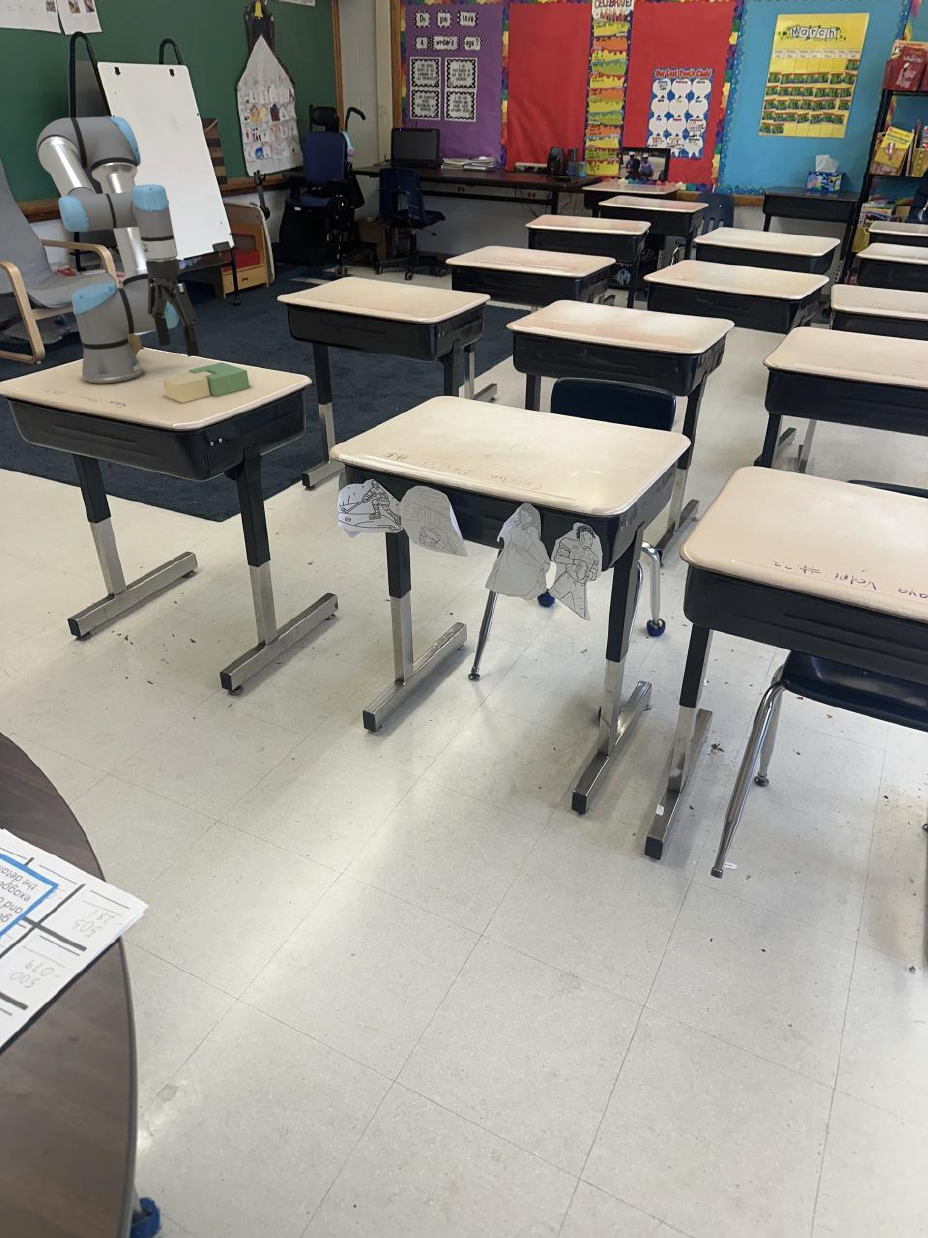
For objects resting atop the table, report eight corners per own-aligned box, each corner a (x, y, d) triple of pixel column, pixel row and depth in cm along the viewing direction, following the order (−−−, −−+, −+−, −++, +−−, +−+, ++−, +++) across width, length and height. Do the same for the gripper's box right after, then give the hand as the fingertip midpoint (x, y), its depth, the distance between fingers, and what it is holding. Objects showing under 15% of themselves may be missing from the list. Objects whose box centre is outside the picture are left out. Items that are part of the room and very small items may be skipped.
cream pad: (165, 396, 218) (162, 378, 216) (204, 386, 225) (200, 369, 222) (182, 402, 213) (178, 384, 211) (220, 392, 220) (217, 375, 218)
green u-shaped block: (191, 387, 225) (188, 369, 222) (224, 378, 231) (221, 361, 228) (216, 396, 217) (213, 378, 215) (249, 387, 223) (246, 370, 221)
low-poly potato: (94, 359, 252) (82, 349, 241) (101, 322, 252) (90, 311, 240) (146, 372, 254) (137, 363, 243) (153, 335, 254) (145, 325, 243)
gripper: (121, 254, 206) (140, 344, 218) (174, 267, 192) (191, 362, 203) (150, 250, 211) (167, 338, 222) (203, 262, 196) (219, 356, 207)
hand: (179, 350), depth 213 cm, fingers open, 13 cm apart
